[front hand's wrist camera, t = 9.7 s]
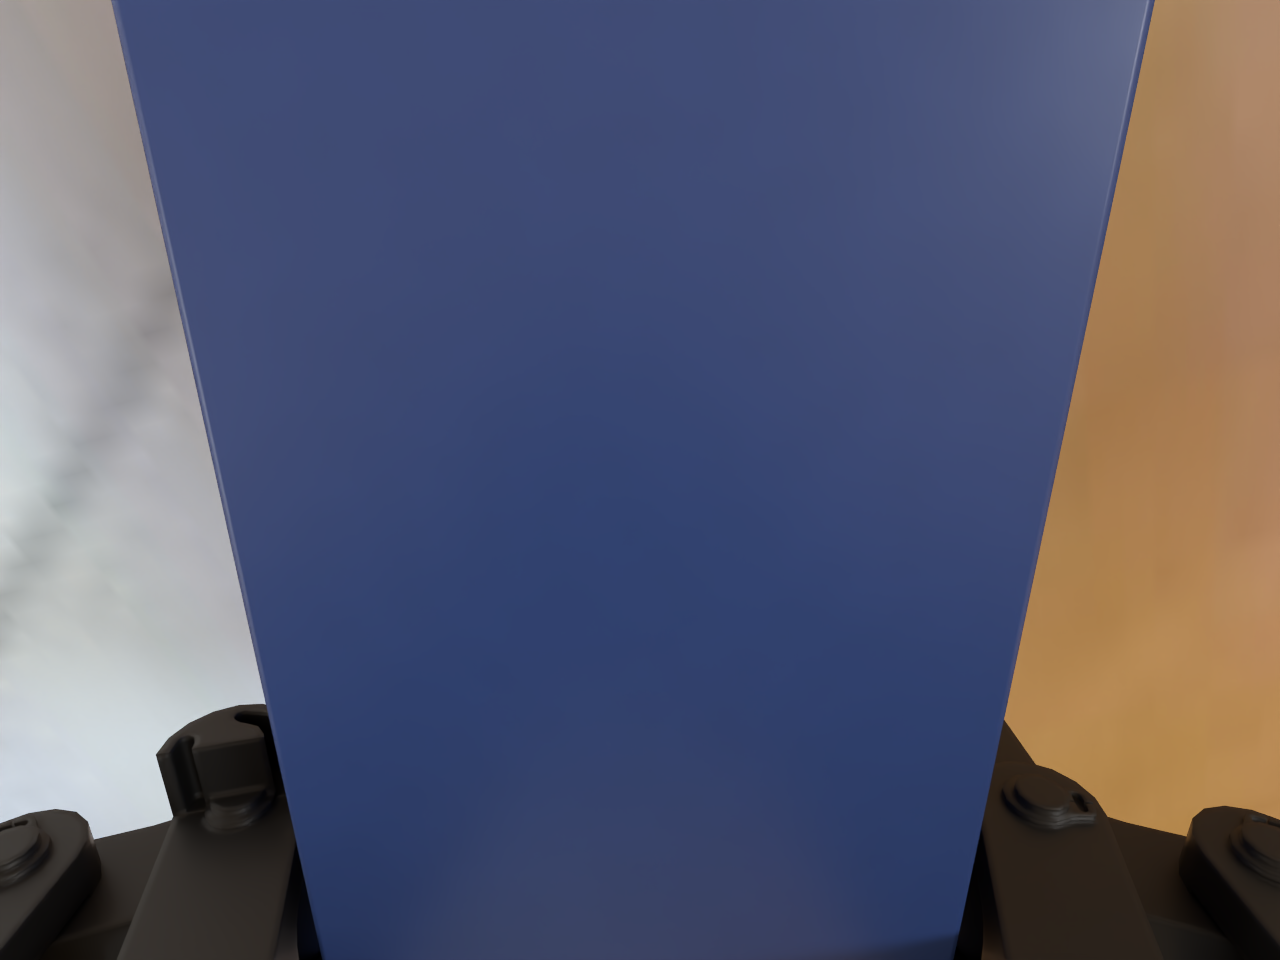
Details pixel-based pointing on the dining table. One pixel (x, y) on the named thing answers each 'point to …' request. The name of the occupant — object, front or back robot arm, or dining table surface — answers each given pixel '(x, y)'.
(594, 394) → the bar
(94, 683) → the dining table surface
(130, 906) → the front robot arm
